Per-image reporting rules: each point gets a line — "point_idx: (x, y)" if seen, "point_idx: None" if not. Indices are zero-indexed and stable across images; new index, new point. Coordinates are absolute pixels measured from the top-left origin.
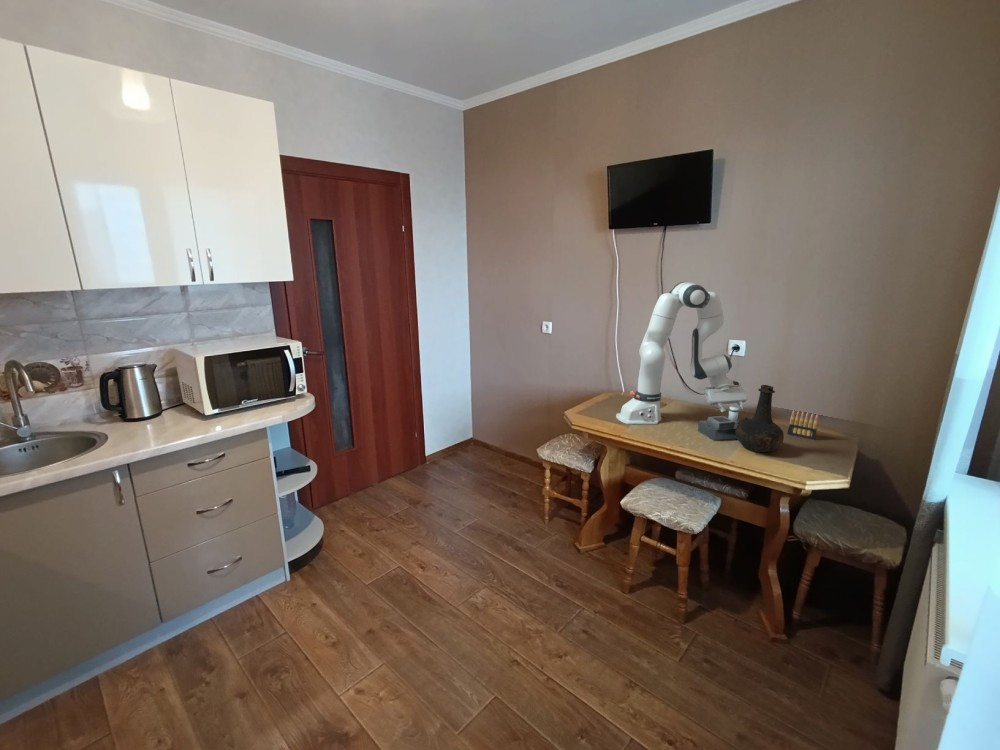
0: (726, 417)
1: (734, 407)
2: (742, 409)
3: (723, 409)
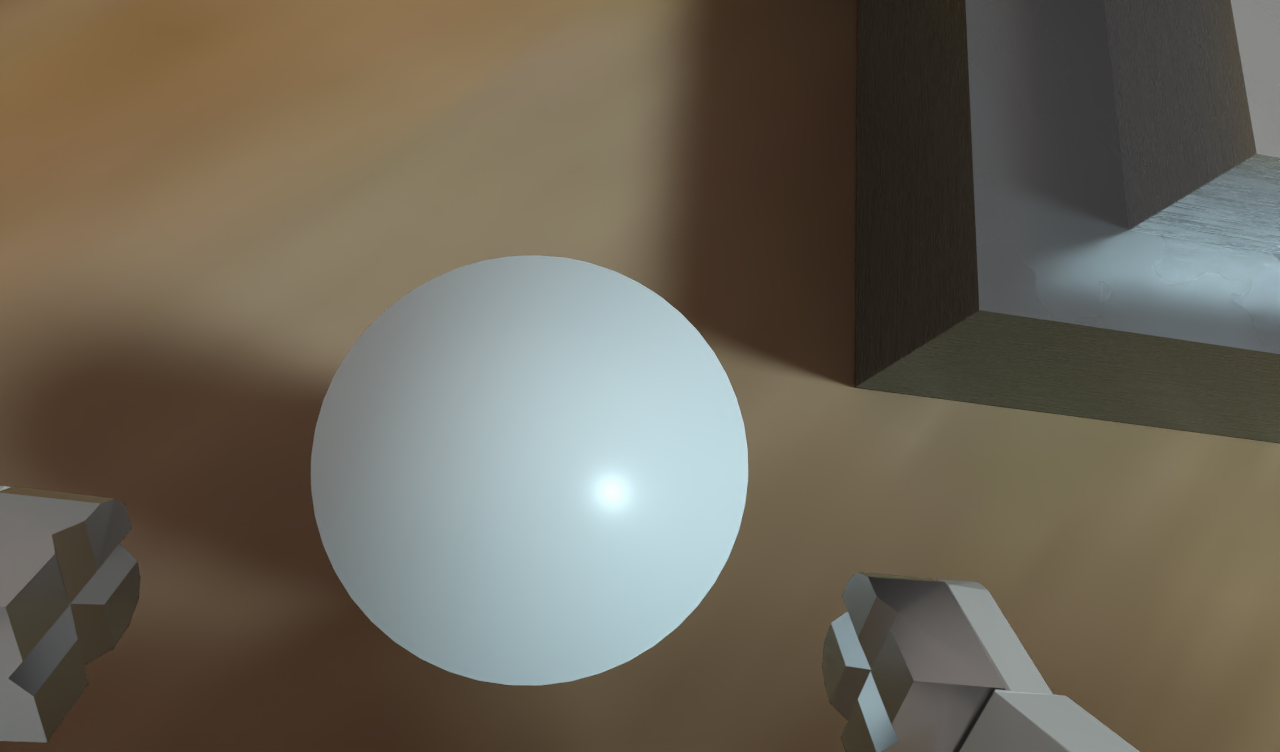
0: (1240, 32)
1: (517, 457)
2: (3, 492)
3: (977, 611)
